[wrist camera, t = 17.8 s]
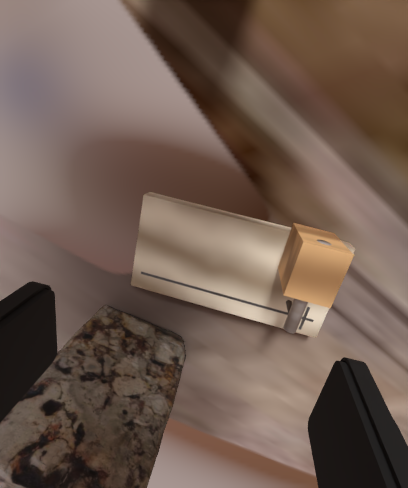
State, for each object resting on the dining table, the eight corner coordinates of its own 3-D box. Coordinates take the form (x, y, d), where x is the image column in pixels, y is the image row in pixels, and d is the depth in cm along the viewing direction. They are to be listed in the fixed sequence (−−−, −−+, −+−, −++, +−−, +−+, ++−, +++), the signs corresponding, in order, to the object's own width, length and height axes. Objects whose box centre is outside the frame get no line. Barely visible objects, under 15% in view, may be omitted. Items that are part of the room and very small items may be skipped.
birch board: (150, 191, 32) (143, 194, 30) (348, 242, 30) (355, 249, 28) (137, 277, 35) (130, 285, 34) (312, 327, 34) (315, 338, 32)
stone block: (94, 338, 40) (-47, 508, 21) (101, 297, 37) (-52, 448, 19) (183, 370, 39) (119, 576, 20) (196, 330, 37) (137, 523, 18)
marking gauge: (293, 222, 28) (303, 241, 22) (333, 233, 28) (354, 255, 22) (266, 299, 31) (269, 333, 26) (302, 309, 31) (313, 345, 25)
